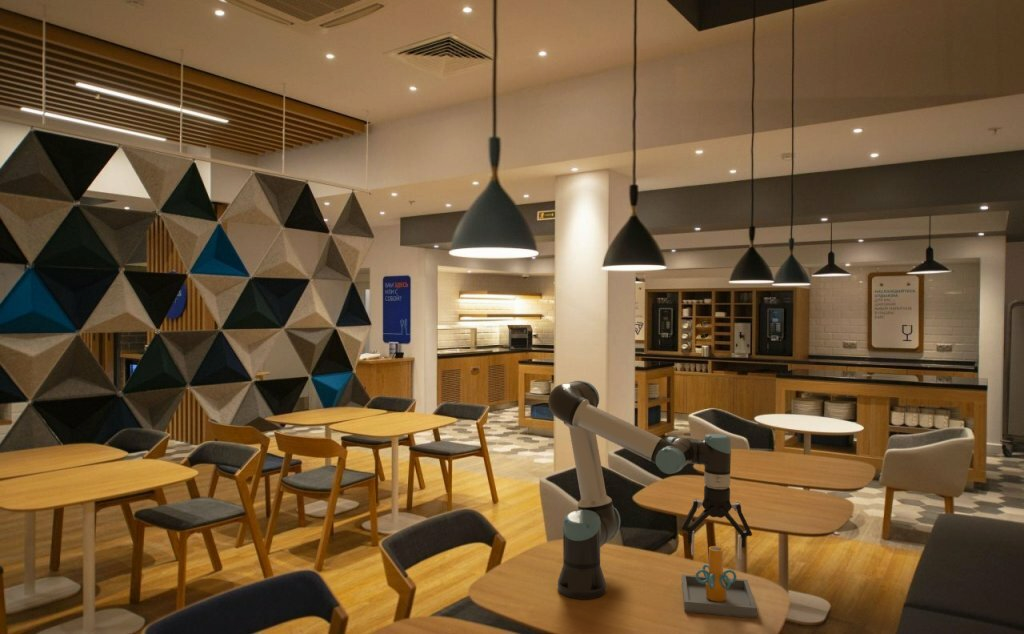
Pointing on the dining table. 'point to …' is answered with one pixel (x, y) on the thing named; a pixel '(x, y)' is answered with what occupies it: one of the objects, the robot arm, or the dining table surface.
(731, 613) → the tray
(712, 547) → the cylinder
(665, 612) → the dining table surface
